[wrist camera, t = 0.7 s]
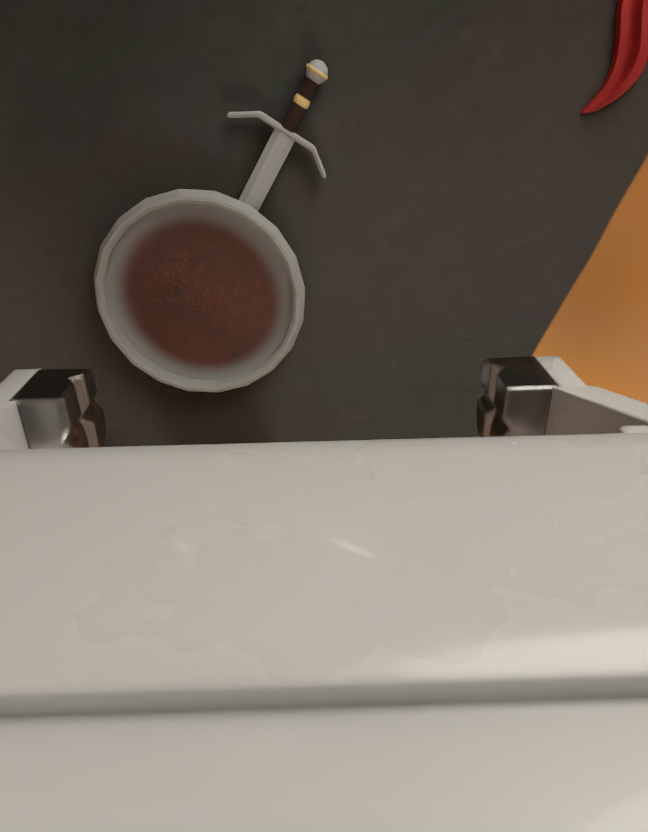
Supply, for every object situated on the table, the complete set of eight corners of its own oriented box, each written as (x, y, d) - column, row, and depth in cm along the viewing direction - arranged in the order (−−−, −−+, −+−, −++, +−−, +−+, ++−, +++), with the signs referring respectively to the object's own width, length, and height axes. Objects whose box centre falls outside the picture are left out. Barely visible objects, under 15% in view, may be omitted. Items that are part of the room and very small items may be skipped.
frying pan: (425, 130, 44) (245, 429, 55) (418, 128, 46) (247, 414, 57) (208, -19, 39) (58, 339, 50) (214, -12, 42) (70, 327, 53)
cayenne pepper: (605, 126, 46) (617, 128, 44) (554, 98, 45) (563, 99, 43) (714, -56, 41) (731, -61, 39) (659, -92, 40) (674, -99, 38)
